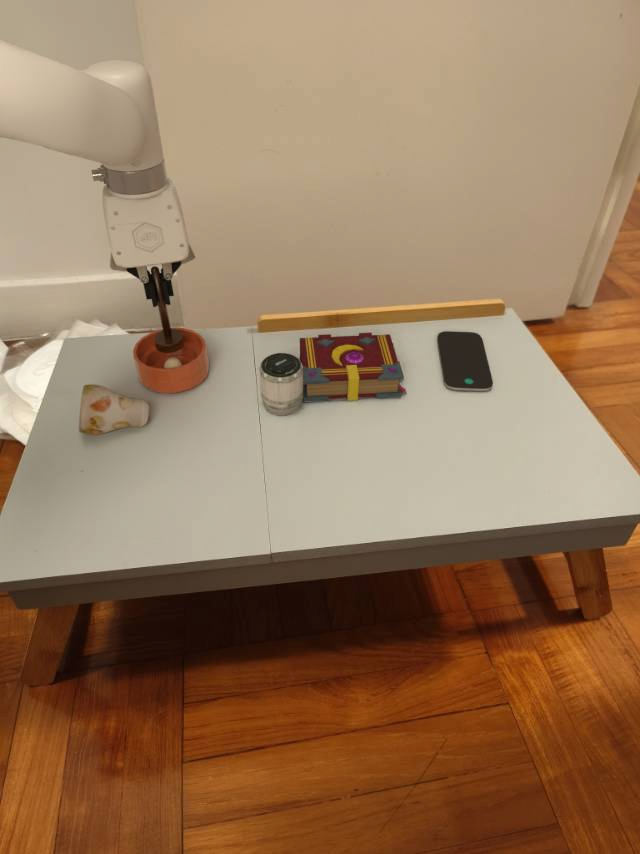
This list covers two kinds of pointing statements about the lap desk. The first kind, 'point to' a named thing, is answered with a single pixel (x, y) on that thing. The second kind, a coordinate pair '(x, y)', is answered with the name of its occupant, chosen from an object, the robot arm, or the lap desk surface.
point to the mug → (109, 411)
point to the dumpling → (172, 363)
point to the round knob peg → (165, 321)
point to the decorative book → (350, 367)
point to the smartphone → (464, 361)
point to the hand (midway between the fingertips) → (161, 300)
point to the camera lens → (281, 383)
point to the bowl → (172, 378)
